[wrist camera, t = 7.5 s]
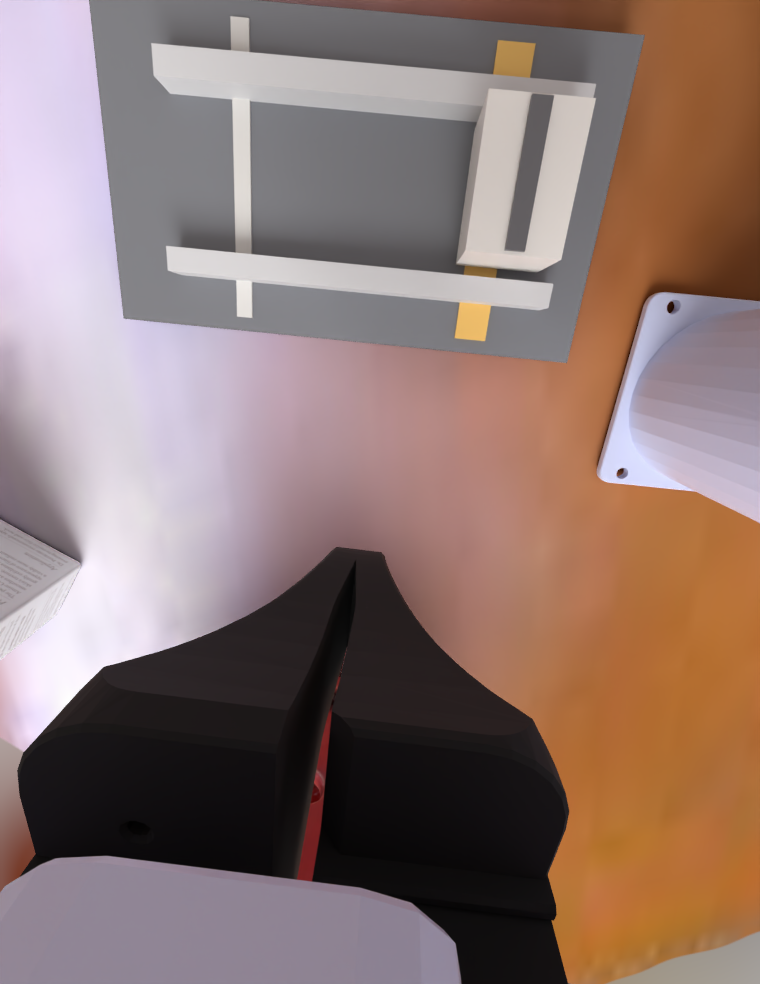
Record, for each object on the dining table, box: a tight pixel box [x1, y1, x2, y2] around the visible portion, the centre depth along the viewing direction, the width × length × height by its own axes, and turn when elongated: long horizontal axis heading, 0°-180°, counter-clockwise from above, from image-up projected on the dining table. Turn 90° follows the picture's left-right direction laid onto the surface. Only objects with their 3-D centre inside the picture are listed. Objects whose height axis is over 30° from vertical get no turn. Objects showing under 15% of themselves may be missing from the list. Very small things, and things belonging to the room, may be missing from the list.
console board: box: [89, 0, 645, 363], centre depth 15 cm, size 18×10×2 cm, turn 85°
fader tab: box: [456, 88, 596, 273], centre depth 13 cm, size 3×4×3 cm
